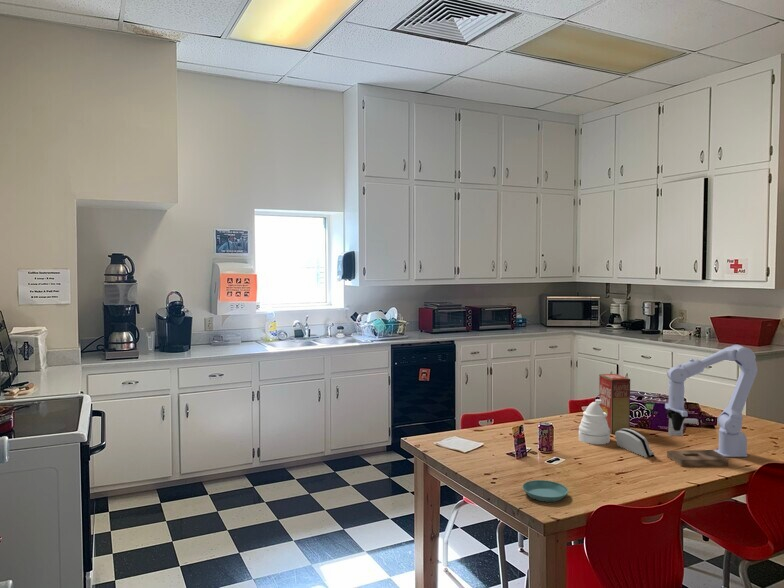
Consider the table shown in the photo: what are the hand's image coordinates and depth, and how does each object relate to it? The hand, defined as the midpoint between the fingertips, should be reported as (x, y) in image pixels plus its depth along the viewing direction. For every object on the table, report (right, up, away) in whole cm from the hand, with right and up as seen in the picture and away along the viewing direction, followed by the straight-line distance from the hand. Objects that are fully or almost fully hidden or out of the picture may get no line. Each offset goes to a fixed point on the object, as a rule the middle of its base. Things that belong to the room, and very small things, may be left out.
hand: (675, 429), depth 240 cm
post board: (+2, -10, -12) cm, 16 cm away
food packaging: (-13, -8, +31) cm, 35 cm away
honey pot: (-28, -8, +16) cm, 33 cm away
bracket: (+3, -3, 0) cm, 4 cm away
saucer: (-65, -12, -45) cm, 80 cm away
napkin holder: (-17, -9, 0) cm, 20 cm away
